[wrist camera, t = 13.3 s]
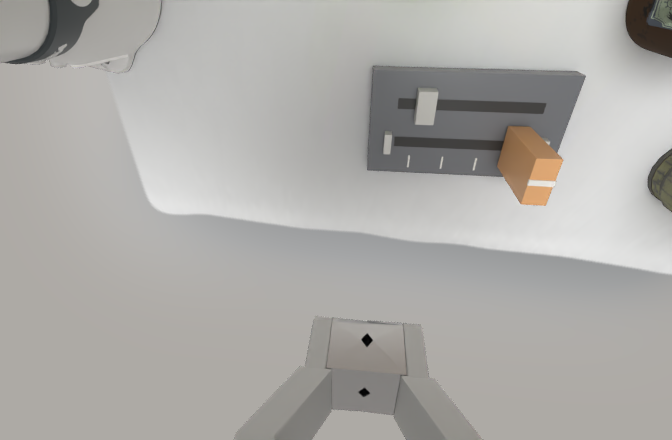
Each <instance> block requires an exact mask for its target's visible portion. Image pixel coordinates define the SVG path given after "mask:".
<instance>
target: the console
mask: <svg viewBox="0 0 672 440" xmlns="http://www.w3.org/2000/svg"><path fill="white" fill-rule="evenodd" d="M585 77H586V76H585V75H583V74H581V73H579V72H572V71H536V70H499V69H463V68H427V67H391V66H373V83H372V99H371V115H370V131H369V148H368V164H367V170H373V171H393V172H414V173H435V174H456V175H476V176H497V177H503V175H502V173H501V172H500V170H499V169H498V167H497V165H498V161H499V157H500V154H501V150H502V147H503V143H504V140H505V136H506V132H507V129H508V126H523V127H531V128H532V129H533V130H534V131H535V132H536V133H537V134H538V135H539V136H540V137H541V138H542V139H543V140H544V141H545V142H546V143H547V144H548V145H549V146H550V147H551V148H552V149H553V150H554V151H555V152H556V153H557V152H558V149H559V146H560V144H561V141H562V138H563V136H564V133H565V130H566V128H567V125H568V122H569V120H570V117H571V114H572V112H573V109H574V106H575V104H576V101H577V98H578V96H579V93H580V90H581V87H582V85H583V82H584V79H585Z"/></svg>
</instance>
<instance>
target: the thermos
mask: <svg viewBox="0 0 672 440" xmlns="http://www.w3.org/2000/svg"><path fill="white" fill-rule="evenodd" d="M648 188H649V190H650V192H651V194H652V195H654V196H655V197H656V198H658V199H659V200H660V201H662V203H663V205H664V206H665V207H666V208H667V209H669V210H670V211H671V212H672V149H671V150H669V151H668V152H667V153H666V154H664V155H663V156H662V157H661V158H660V159H659V160H658V161H657V163H656V164H655V165H654V166H653V167H652V170H651V172H650V174H649V177H648Z"/></svg>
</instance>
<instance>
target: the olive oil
mask: <svg viewBox="0 0 672 440" xmlns="http://www.w3.org/2000/svg"><path fill="white" fill-rule="evenodd" d="M626 24H627V29H628V32H629V35H630V36H631V38H632V39H633V41H634V42H635V43H636V44H638V45H639V46H640V47H642V48H644V49H647V50H649V51H652V52H655V53H658V54H661V55H664V56H667V57H670V58H672V0H630V1H629V4H628V8H627V14H626Z"/></svg>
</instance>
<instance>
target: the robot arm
mask: <svg viewBox="0 0 672 440" xmlns="http://www.w3.org/2000/svg"><path fill="white" fill-rule="evenodd" d="M160 10H161V0H0V63H10V64H22V63H24V64H32V65H33V64H43V63H45V61H46V60H49V62H50V65H51V66H52V67H58V68H59V67H60V68H62V67H66V64H69V65H70V66H71V67H72V68H82V67H86V66H89V67H93V68H97V69H102V70H106V71H110V72H115V73H123V72H127V71H128V70H129V69H130V67H131V65H132V62H133V59H134V56H135V52H136V51H137V50H138V48H139V47H140V46H141V45H143V44H144V43H145V42H146V41H147V40H148V39H149V38H150V36H151V35H152V33H153V32H154V30H155V28H156V26H157V23H158V20H159V16H160ZM108 61H110V63H109V62H108ZM331 409H336V410H349V411H362V410H363V412H371V413H379V414H387V415H394V419H395V421H396V422H397V424H398V426H399V428H400V430H401V431H402V433H403V435H404V437H405V439H406V440H483V439H482V438H481V436H480V435H479V434H478V433H477V432H476V430H475V429H474V428H473V426H472V425H471V424H470V423H469V422H468V420H467V419H466V418H465V416H464V415H463V414H462V412H461V411H460V410H459V409H458V407H457V406H456V405H455V404H454V402H453V401H452V400H451V399H450V398H449V396H448V395H447V394H446V392H445V391H444V390H443V388H442V387H441V386H440V385H439V383H438V382H437V381H436V380H435V379H433V378H429V373H428V366H427V359H426V351H425V343H424V336H423V328H422V326H421V325H419V324H407V323H403V324H402V323H398V322H397V323H396V322H383V321H362V320H353V319H343V318H334V317H322V316H315V318H314V320H313V325H312V330H311V336H310V341H309V346H308V352H307V357H306V363H305V367H302V366H301V367H298V368H297V369H296V370H295V372H294V373H293V374H292V375H291V376H290V377H289V378H288V379H287V380H286V381H285V382H284V383H283V384H282V385H281V386H280V387H279V388H278V389H277V390H276V391H275V392H274V394H273V395H272V396H271V397H270V398H269V399H268V400H267V401H266V402H265V403H264V404H263V405H262V406H261V407H260V408H259V409H258V410H257V411H256V412H255V413H254V414H253V415H252V416H251V418H250V419H249V420H248V421H247V422H246V423H245V424H244V425H243V426H242V427H241V428H240V429H239V430H238V431H237V432H236V434H235V437H234V440H312V439H313V437H314V436H315V434H316V433H317V431H318V430H319V429H320V427H321V426H322V424H323V423H324V421H325V420H326V418H327V417H328V416H329V414H330V413H331Z"/></svg>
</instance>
